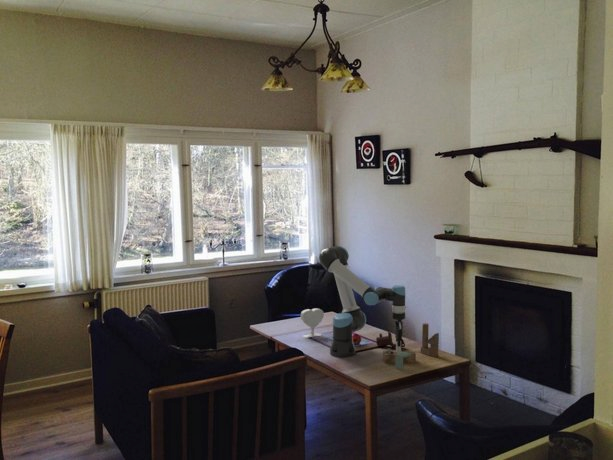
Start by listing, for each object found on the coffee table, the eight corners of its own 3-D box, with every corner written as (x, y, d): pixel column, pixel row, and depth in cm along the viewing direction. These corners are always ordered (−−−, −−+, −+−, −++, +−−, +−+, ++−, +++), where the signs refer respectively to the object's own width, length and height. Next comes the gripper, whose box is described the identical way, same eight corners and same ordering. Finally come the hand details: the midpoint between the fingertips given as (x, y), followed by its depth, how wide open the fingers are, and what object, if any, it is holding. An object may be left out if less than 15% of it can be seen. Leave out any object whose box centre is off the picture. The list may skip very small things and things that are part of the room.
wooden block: (434, 357, 318) (435, 327, 316) (420, 352, 326) (420, 323, 325) (438, 356, 320) (439, 326, 319) (424, 351, 329) (424, 322, 327)
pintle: (387, 361, 310) (387, 349, 310) (387, 360, 312) (387, 348, 312) (391, 361, 310) (391, 349, 310) (390, 360, 312) (390, 348, 312)
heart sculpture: (320, 333, 368) (320, 307, 366) (324, 335, 363) (324, 308, 362) (300, 336, 361) (300, 309, 360) (303, 338, 357) (303, 311, 355)
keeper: (395, 367, 301) (395, 354, 300) (405, 364, 305) (405, 351, 304) (400, 369, 297) (401, 356, 297) (410, 366, 302) (410, 353, 301)
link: (384, 363, 308) (384, 354, 307) (382, 359, 315) (383, 350, 314) (416, 363, 308) (416, 354, 307) (413, 359, 315) (413, 350, 314)
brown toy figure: (404, 346, 330) (402, 330, 334) (377, 349, 335) (375, 333, 339) (406, 347, 336) (404, 331, 339) (379, 350, 341) (377, 334, 344)
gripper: (407, 314, 310) (406, 354, 312) (403, 309, 323) (403, 347, 325) (394, 314, 310) (394, 354, 312) (390, 309, 323) (390, 347, 325)
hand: (398, 351), depth 319 cm, fingers closed
